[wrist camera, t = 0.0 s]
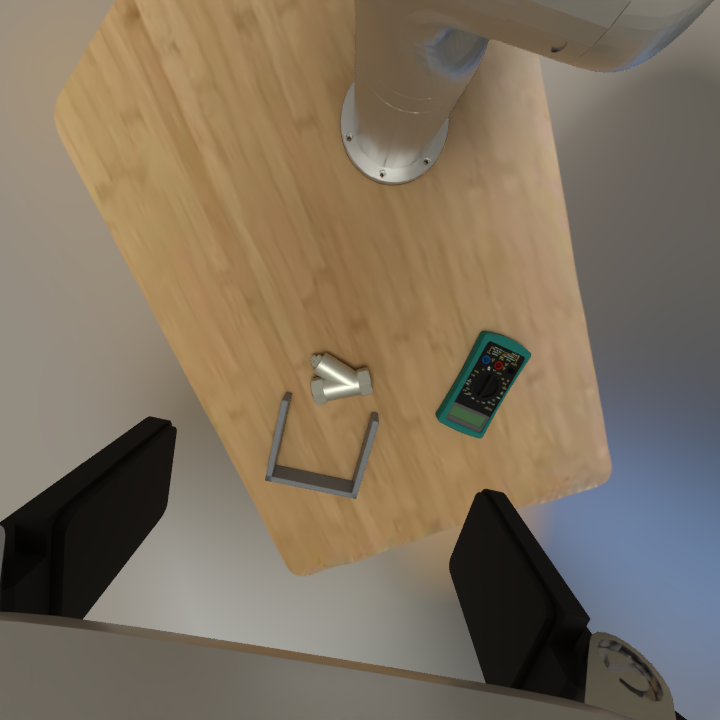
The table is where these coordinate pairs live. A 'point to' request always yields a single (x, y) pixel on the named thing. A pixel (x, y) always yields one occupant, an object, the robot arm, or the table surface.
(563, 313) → the table surface
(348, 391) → the pipe fitting
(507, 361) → the digital multimeter
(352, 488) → the gray u-shaped frame
